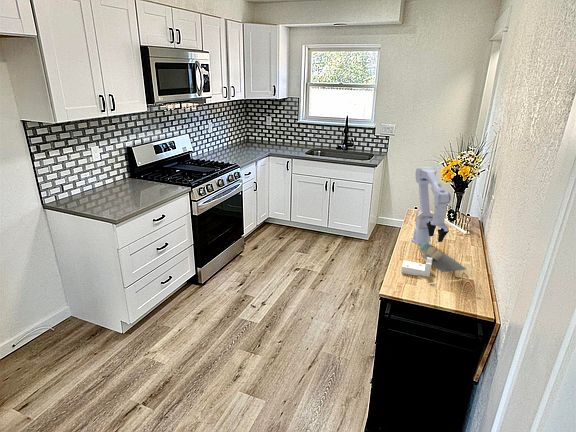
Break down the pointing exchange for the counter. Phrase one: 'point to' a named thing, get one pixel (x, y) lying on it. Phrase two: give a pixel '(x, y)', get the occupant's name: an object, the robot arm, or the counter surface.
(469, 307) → the counter surface
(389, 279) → the counter surface
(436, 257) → the tall block
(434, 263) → the mat
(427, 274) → the bracket
